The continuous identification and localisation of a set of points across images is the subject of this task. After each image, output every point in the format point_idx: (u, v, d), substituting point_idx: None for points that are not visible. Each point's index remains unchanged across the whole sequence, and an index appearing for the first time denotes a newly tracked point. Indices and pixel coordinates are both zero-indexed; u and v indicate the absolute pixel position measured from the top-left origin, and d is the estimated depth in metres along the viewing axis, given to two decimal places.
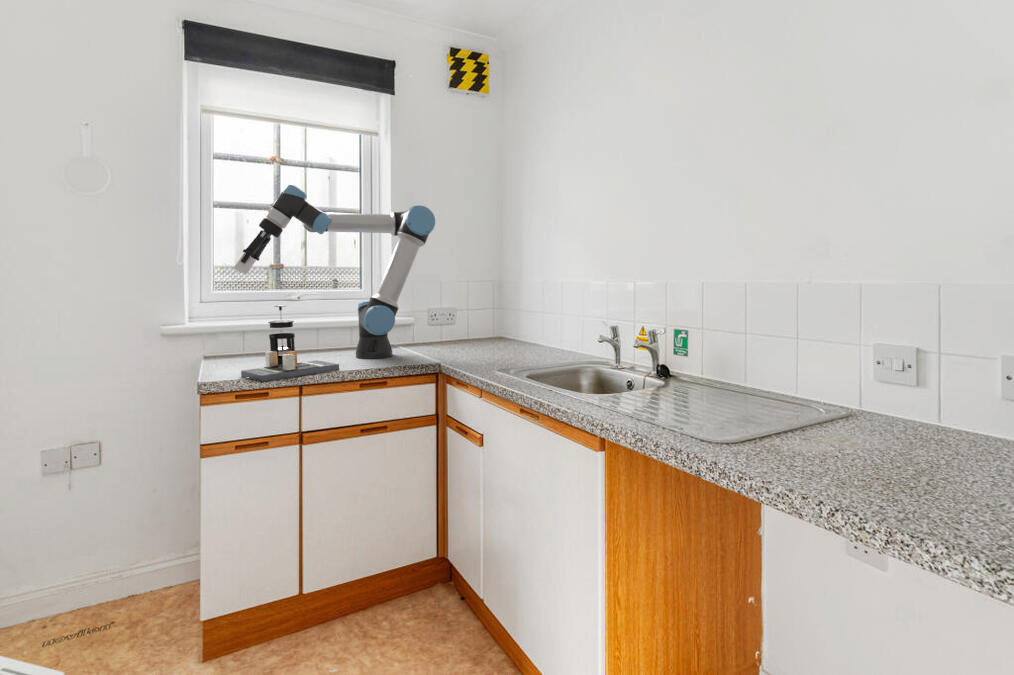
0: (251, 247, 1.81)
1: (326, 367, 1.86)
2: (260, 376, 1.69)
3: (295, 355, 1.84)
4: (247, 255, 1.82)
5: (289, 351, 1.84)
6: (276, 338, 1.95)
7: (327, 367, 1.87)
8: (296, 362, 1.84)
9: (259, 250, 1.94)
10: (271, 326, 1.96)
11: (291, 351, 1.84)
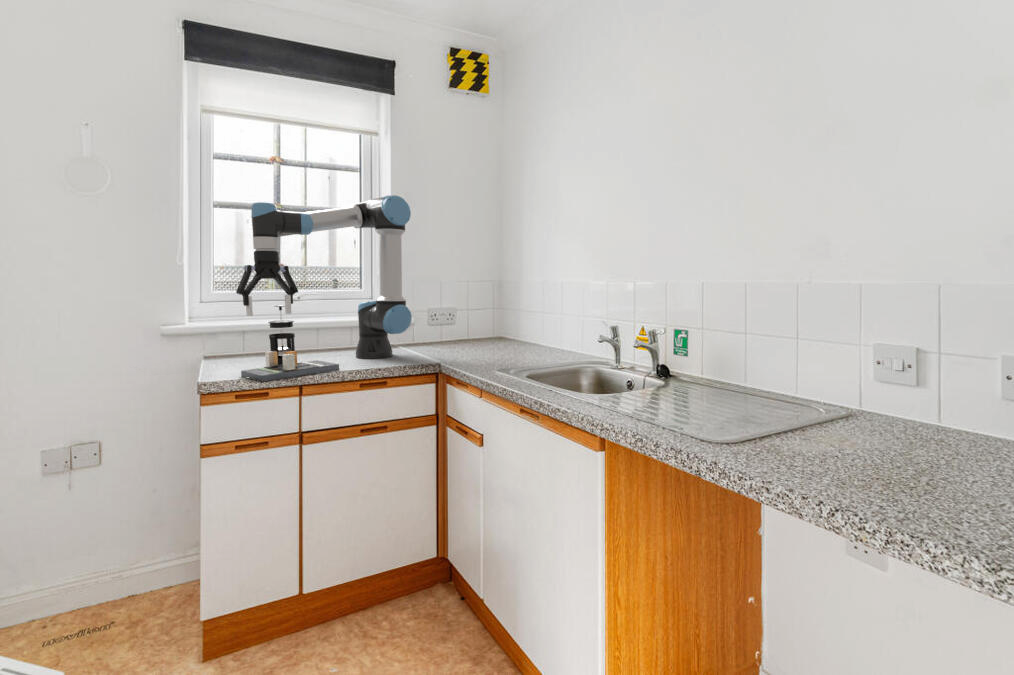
0: (239, 287, 1.69)
1: (326, 367, 1.86)
2: (260, 376, 1.69)
3: (295, 355, 1.84)
4: (243, 296, 1.70)
5: (289, 351, 1.84)
6: (276, 338, 1.95)
7: (327, 367, 1.87)
8: (296, 362, 1.84)
9: (281, 284, 1.79)
10: (271, 326, 1.96)
11: (291, 351, 1.84)
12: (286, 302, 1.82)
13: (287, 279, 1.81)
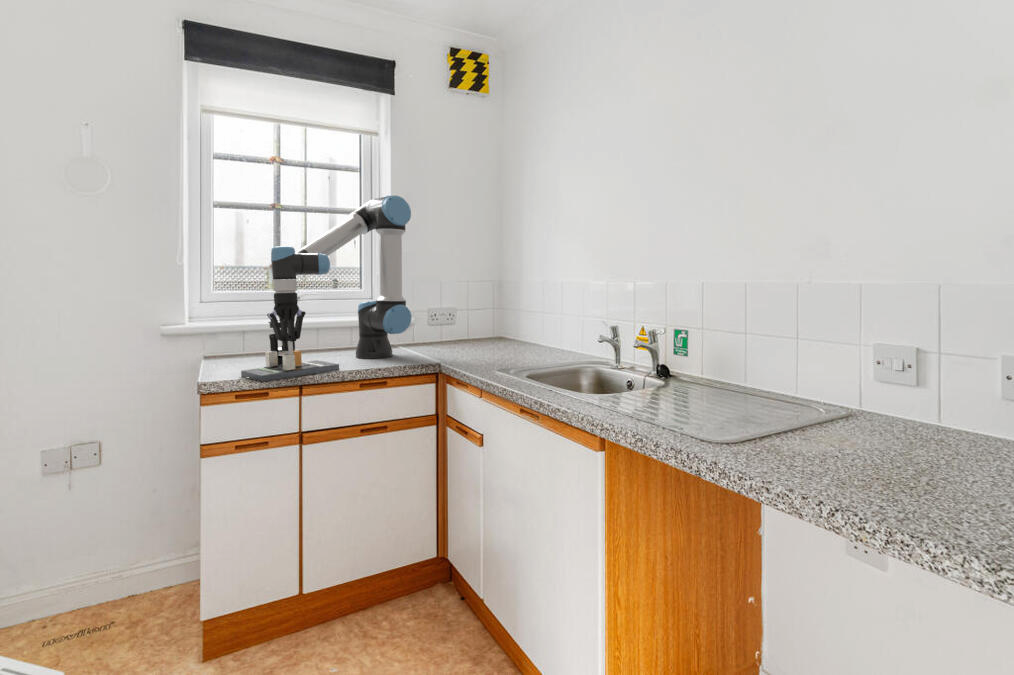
0: (276, 335, 1.79)
1: (326, 367, 1.86)
2: (260, 376, 1.69)
3: (299, 354, 1.85)
4: (283, 342, 1.81)
5: None
6: None
7: (327, 367, 1.87)
8: (300, 361, 1.85)
9: (290, 327, 1.82)
10: (271, 326, 1.96)
11: None
12: None
13: (297, 323, 1.85)
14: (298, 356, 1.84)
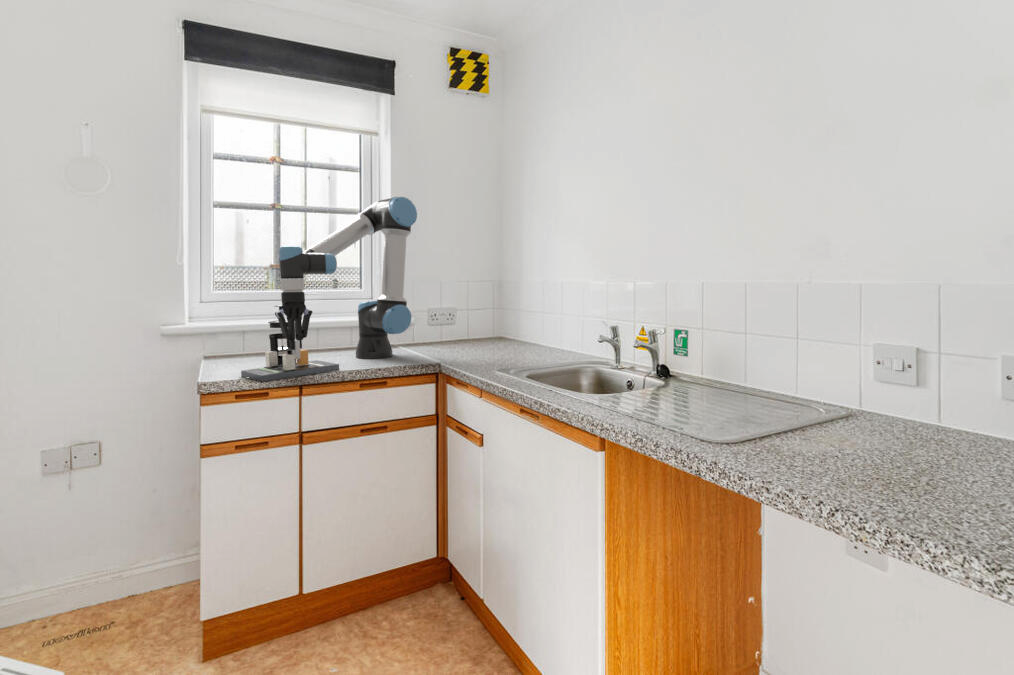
0: (283, 333, 1.81)
1: (326, 367, 1.86)
2: (260, 376, 1.69)
3: (306, 354, 1.87)
4: (290, 341, 1.83)
5: (300, 350, 1.88)
6: (276, 338, 1.95)
7: (327, 367, 1.87)
8: (307, 360, 1.87)
9: (297, 325, 1.84)
10: (271, 326, 1.96)
11: (302, 350, 1.87)
12: None
13: (304, 322, 1.87)
14: (305, 355, 1.86)
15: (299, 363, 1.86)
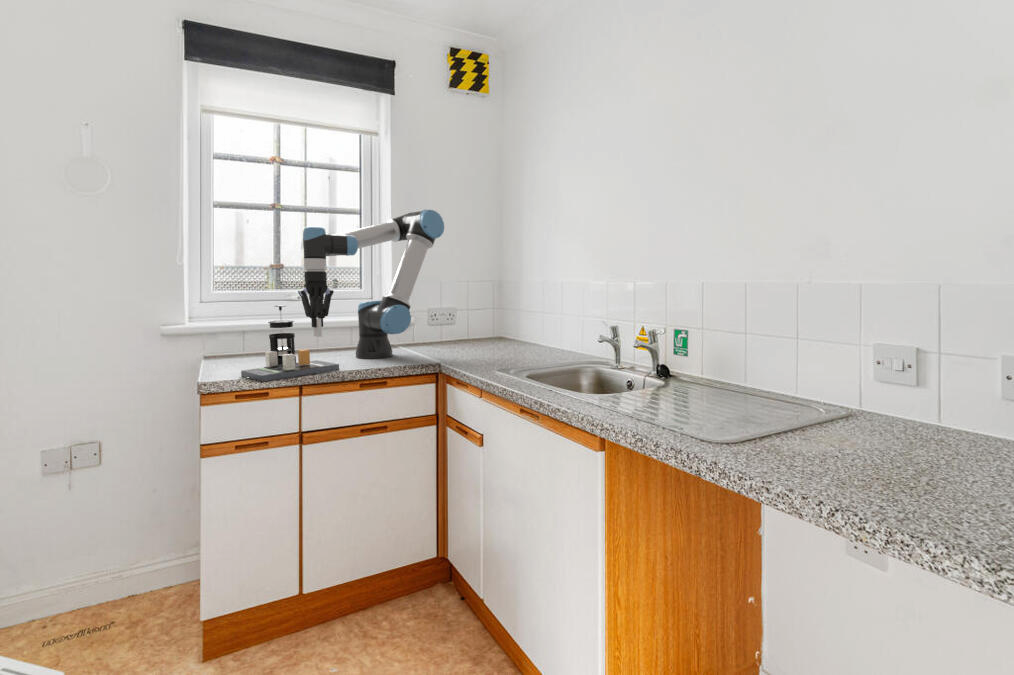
0: (306, 311, 1.87)
1: (326, 367, 1.86)
2: (260, 376, 1.69)
3: (308, 353, 1.87)
4: (312, 319, 1.89)
5: None
6: (276, 338, 1.95)
7: (327, 367, 1.87)
8: (309, 360, 1.88)
9: (319, 304, 1.90)
10: (271, 326, 1.96)
11: None
12: None
13: (325, 301, 1.93)
14: (306, 355, 1.87)
15: (301, 363, 1.86)
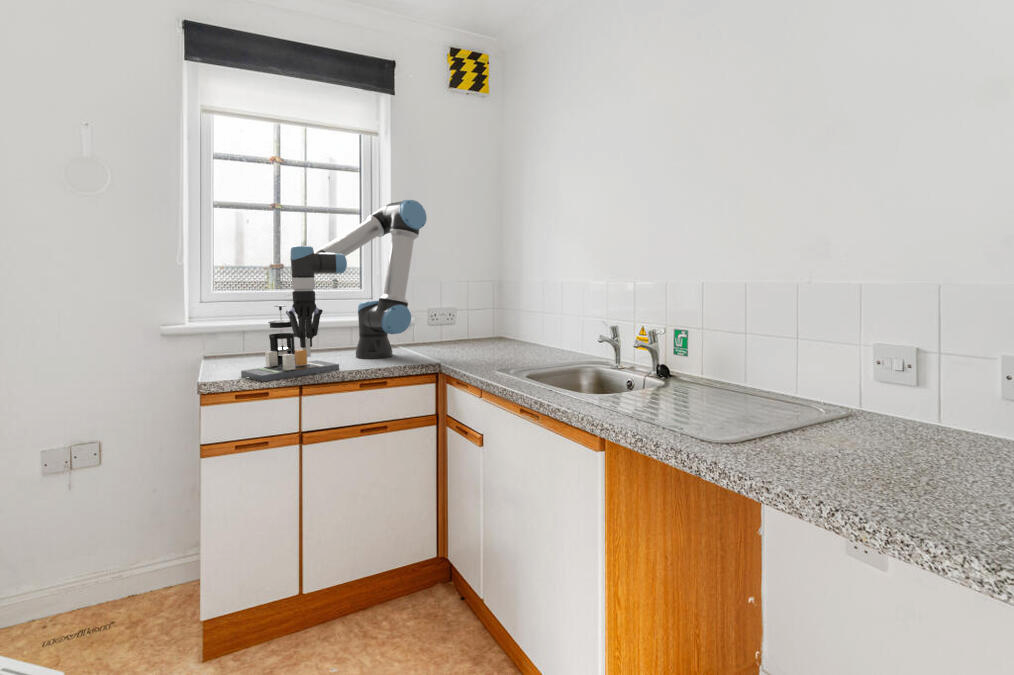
0: (294, 332, 1.84)
1: (326, 367, 1.86)
2: (260, 376, 1.69)
3: (305, 354, 1.86)
4: (301, 339, 1.86)
5: (299, 350, 1.87)
6: (276, 338, 1.95)
7: (327, 367, 1.87)
8: (306, 361, 1.87)
9: (308, 324, 1.87)
10: (271, 326, 1.96)
11: (301, 350, 1.87)
12: None
13: (314, 320, 1.90)
14: (303, 355, 1.86)
15: (298, 363, 1.85)
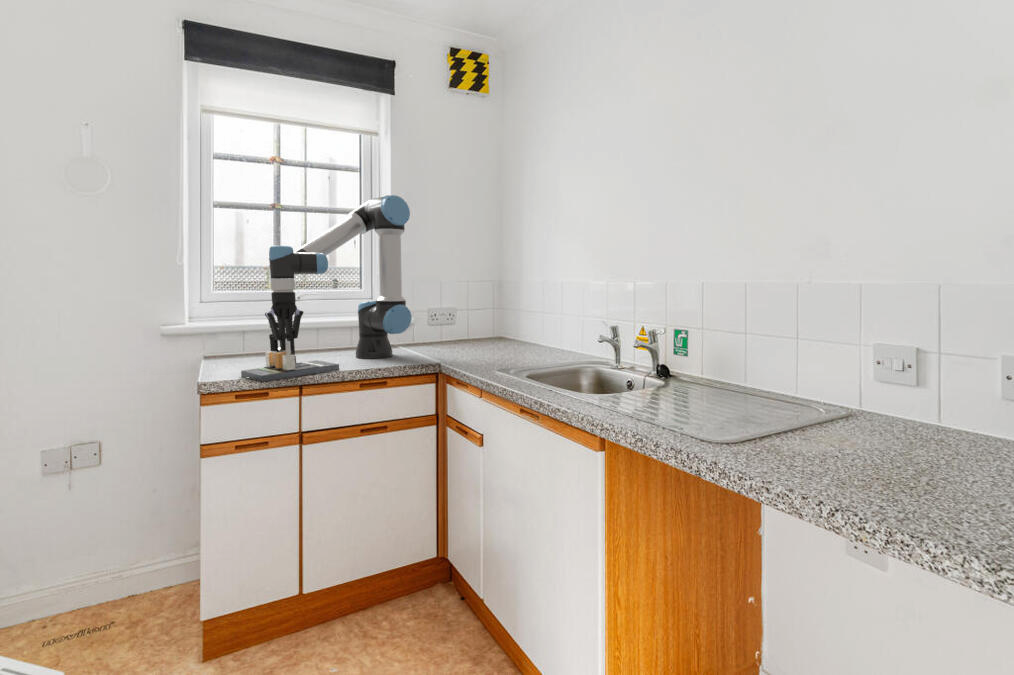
0: (274, 334, 1.79)
1: (326, 367, 1.86)
2: (260, 376, 1.69)
3: None
4: (280, 342, 1.80)
5: None
6: None
7: (327, 367, 1.87)
8: None
9: (288, 326, 1.81)
10: None
11: (281, 352, 1.81)
12: None
13: (295, 322, 1.84)
14: None
15: (277, 366, 1.80)
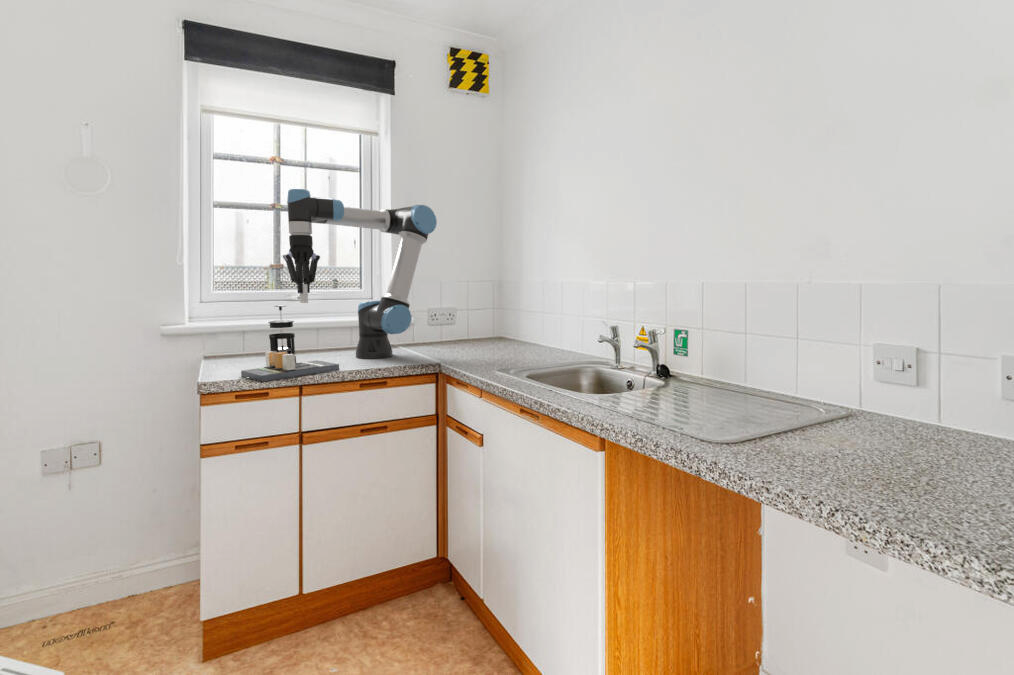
0: (291, 276, 1.82)
1: (326, 367, 1.86)
2: (260, 376, 1.69)
3: None
4: (298, 284, 1.84)
5: None
6: (276, 338, 1.95)
7: (327, 367, 1.87)
8: None
9: (305, 269, 1.85)
10: (271, 326, 1.96)
11: (281, 352, 1.81)
12: None
13: (312, 266, 1.87)
14: None
15: (277, 366, 1.80)
